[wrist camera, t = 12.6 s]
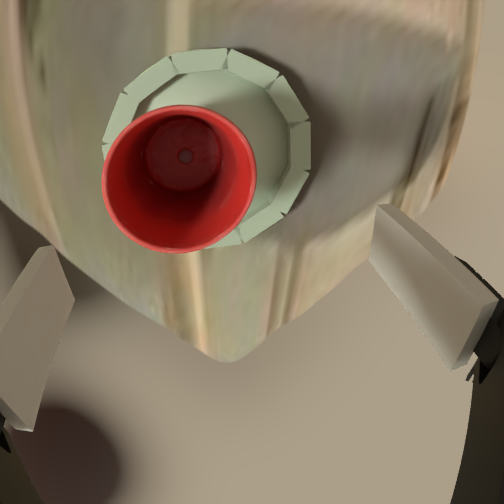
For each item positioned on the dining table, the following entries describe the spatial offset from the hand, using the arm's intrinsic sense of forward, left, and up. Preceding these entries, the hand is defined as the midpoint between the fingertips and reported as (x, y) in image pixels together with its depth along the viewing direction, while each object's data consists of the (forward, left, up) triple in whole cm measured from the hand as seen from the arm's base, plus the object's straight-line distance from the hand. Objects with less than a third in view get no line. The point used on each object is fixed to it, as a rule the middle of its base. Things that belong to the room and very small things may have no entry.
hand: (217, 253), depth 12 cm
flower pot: (-2, 0, -20) cm, 20 cm away
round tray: (0, 0, -21) cm, 21 cm away
